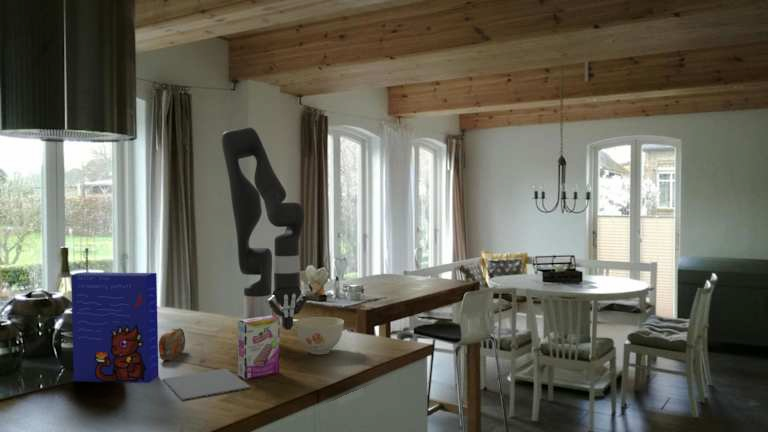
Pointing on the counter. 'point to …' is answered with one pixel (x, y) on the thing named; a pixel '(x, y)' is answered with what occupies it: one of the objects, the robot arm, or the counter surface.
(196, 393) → the mat
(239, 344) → the candy bar box
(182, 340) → the tin
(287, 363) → the counter surface
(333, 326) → the bowl
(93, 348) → the cereal box
